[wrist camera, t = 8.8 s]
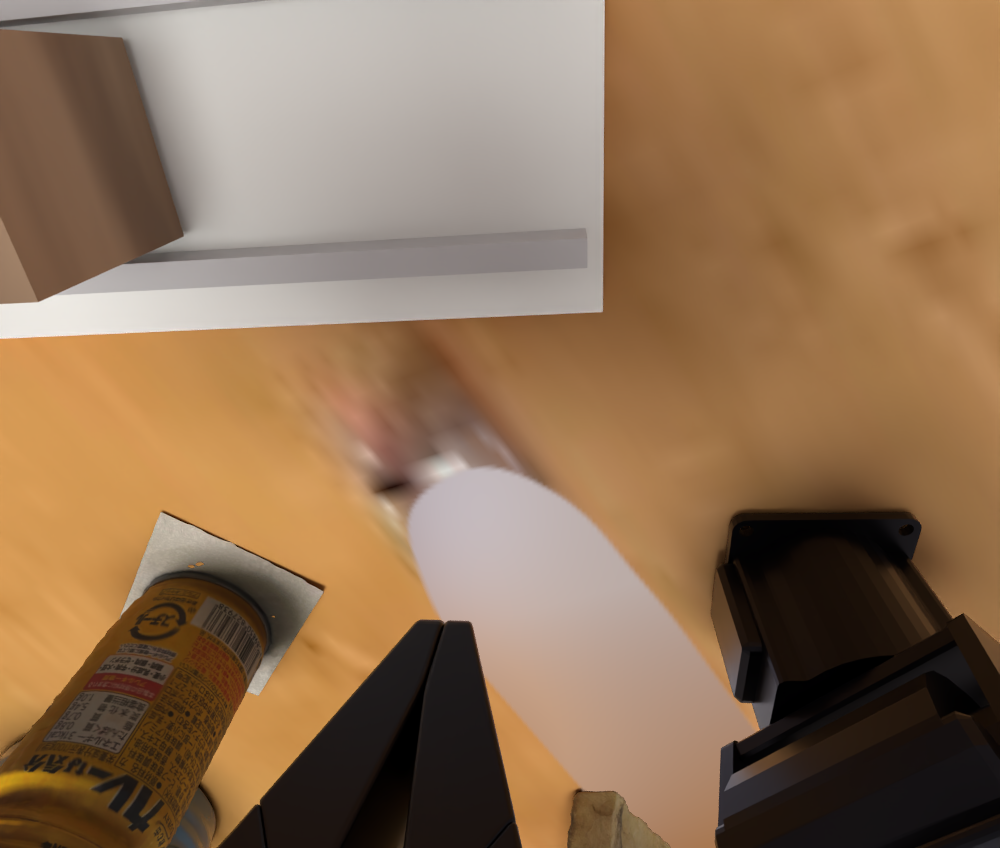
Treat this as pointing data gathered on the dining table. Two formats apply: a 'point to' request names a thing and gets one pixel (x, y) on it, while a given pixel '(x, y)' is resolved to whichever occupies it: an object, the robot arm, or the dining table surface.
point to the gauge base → (351, 162)
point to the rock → (608, 824)
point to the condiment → (152, 697)
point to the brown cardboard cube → (74, 165)
